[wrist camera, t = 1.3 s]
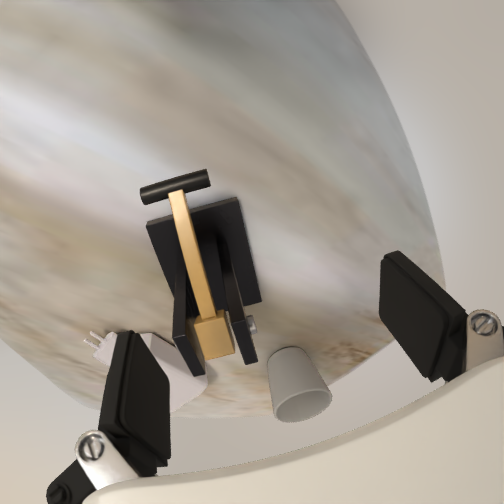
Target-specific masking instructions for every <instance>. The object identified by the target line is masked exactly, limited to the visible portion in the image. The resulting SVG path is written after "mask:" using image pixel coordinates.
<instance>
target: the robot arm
mask: <svg viewBox="0 0 504 504" xmlns="http://www.w3.org/2000/svg"><path fill="white" fill-rule="evenodd" d="M379 316H380V318H381V320H382V322H383V323H384V324H385V326H386V327H387V328H388V330H389V331H390V332H391V333H392V335H393V336H394V337H395V339H396V340H397V341H398V343H399V344H400V346H401V347H402V348H403V350H404V351H405V352H406V354H407V355H408V356H409V357H410V359H411V361H412V362H413V363H414V365H415V366H416V367H417V369H418V370H419V372H420V373H421V374H422V376H423V377H425V378H426V377H428V378H429V380H430V381H431V382H433V381H435V380H437V379H439V378H440V377H443V379H444V380H445V385H443V386H441V387H440V388H438V389H436V390H434V391H433V392H431V393H429V394H427V395H425V396H423V397H422V398H420V399H418V400H416V401H414V402H413V403H411V404H409V405H407V406H405V407H403V408H401V409H399V410H397V411H395V412H393V413H391V414H389V415H386V416H384V417H382V418H380V419H378V420H375V421H373V422H371V423H369V424H366V425H364V426H362V427H359V428H357V429H354V430H352V431H349V432H347V433H344V434H342V435H339V436H337V437H334V438H331V439H328V440H325V441H323V442H320V443H317V444H314V445H311V446H308V447H304V448H301V449H298V450H295V451H291V452H288V453H284V454H281V455H277V456H273V457H270V458H265V459H262V460H257V461H253V462H248V463H244V464H239V465H234V466H229V467H223V468H217V469H211V470H205V471H198V472H191V473H183V474H175V475H164V476H158V475H157V474H156V473H157V467H167V466H168V463H167V459H170V458H171V442H170V382H169V379H168V376H167V375H166V373H165V372H164V371H163V369H162V368H161V366H160V365H159V363H158V362H157V360H156V359H155V357H154V356H153V354H152V353H151V351H150V350H149V348H148V347H147V345H146V343H145V342H144V340H143V339H142V337H141V335H140V334H139V333H135V332H134V331H133V330H130V331H126V332H122V333H119V334H118V335H117V338H116V342H115V346H114V351H113V355H112V360H111V364H110V369H109V372H108V375H107V379H106V385H105V390H104V395H103V401H102V406H101V413H100V419H99V425H98V430H91V431H87V432H85V433H84V434H82V435H81V436H80V437H79V439H78V441H77V442H76V446H75V455H76V457H77V459H76V460H75V461H74V462H73V463H72V464H71V465H70V466H69V467H68V468H67V469H66V470H65V471H64V472H62V473H61V474H60V475H59V476H58V477H57V478H56V479H55V480H54V481H53V482H52V483H51V484H50V485H49V487H48V489H47V494H46V497H47V502H48V504H504V326H502V325H501V322H500V319H499V318H498V317H497V316H496V315H495V314H494V313H493V312H490V311H488V310H484V309H482V310H475V311H473V312H472V313H470V314H469V315H468V314H467V313H466V312H465V309H463V308H462V307H461V306H460V305H459V304H458V303H457V302H456V301H455V300H454V299H453V298H452V297H451V296H450V295H449V294H448V293H447V292H446V291H445V290H443V289H442V288H441V287H440V286H439V285H438V284H437V283H436V282H435V281H434V280H433V279H431V278H430V277H429V276H428V275H427V274H426V273H425V272H424V271H422V270H421V269H420V268H419V267H418V266H417V265H416V264H414V263H413V262H412V261H411V260H410V259H409V258H407V257H406V256H405V255H404V254H403V253H401V252H400V251H398V250H397V251H394V252H391V253H388V254H386V255H384V259H383V260H381V270H380V299H379Z"/></svg>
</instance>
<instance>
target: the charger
mask: <svg viewBox="0 0 504 504" xmlns="http://www.w3.org/2000/svg"><path fill="white" fill-rule="evenodd" d="M90 335H92V336H93V337H95V338H97V339H98V340H100V341H101V343H100V344H99V346H97V345H95V344H94V343H92V342H91V341H89V340H88V339H85V340H84V342H86V343H87V344H89V345H90V346H92V347H93V348H95V349H96V350H95V352H94V354H93V358H95V359H97V360H98V361H100V362H102V363H103V364H105V365H107V366H108V367H110V364H111V360H112V355H113V351H114V346H115V342H116V338H117V334H116V333H114V332H111V333H109V334H108V335H107V336H106V337H105V338H102V337H100V336H99V335H97V334H96V333H94V332H93V331H91V332H90ZM140 335H141V337H142V339H143V340H144V342H145V343H146V345H147V347H148V348H149V350H150V351H151V353H152V354H153V356H154V357H155V359H156V360H157V362H158V363H159V365H160V366H161V368H162V369H163V371H164V372H165V373H166V375H167V376H168V379H169V382H170V413H172V412H174V411H175V410H177V409H179V408H180V407H182V406H183V405H185V404H186V403H188V402H189V401H191V400H192V399H194V398H195V397H197V396H198V395H200V394H201V393H202V392H203V391H204V390H205V389H206V388H207V385H208V379H207V368H206V364H205V370H206V374H205V375H201V376H197V377H193V375H192V373H191V371H190V370H189V368H188V366H187V364H186V363H185V361H184V359H183V357H182V355H181V353H180V352H178V351H177V349H176V348H175V347H174V346H172V345H170V344H169V343H167V342H165V341H164V340H162V339H160V338H159V337H157V336H156V335H154V334H152V333H144V334H140Z"/></svg>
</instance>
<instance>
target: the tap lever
mask: <svg viewBox="0 0 504 504" xmlns="http://www.w3.org/2000/svg"><path fill="white" fill-rule="evenodd" d="M210 186H211V184H210V180H209V176H208V172H207V169H203V170H199V171H196V172H192V173H189V174H185V175H181V176H178V177H175V178H171V179H168V180H164V181H161V182H158V183H155V184H151V185H148V186H145V187H142V188H140V196H141V200H142V202H143V204H144V205H148V204H151V203H154V202H158V201H161V200H164V199H168V198H169V201H170V205H171V209H172V213H173V217H174V221H175V225H176V229H177V233H178V237H179V241H180V245H181V249H182V252H183V256H184V260H185V263H186V267H187V271H188V274H189V278H190V281H191V285H192V288H193V292H194V295H195V298H196V302H197V305H198V308H199V312H200V315H199V316H197V318H196V321H195V323H194V328H195V331H196V334H197V337H198V340H199V343H200V346H201V349H202V352H203V355H204V358H205V360H209V359H214V358H218V357H222V356H226V355H230V354H234V353H235V344H234V339H233V336H232V332H231V329H230V326H229V322H228V319H227V315H226V312H225V309H223V310H219V311H216V307H215V304H214V300H213V297H212V293H211V290H210V286H209V283H208V279H207V276H206V272H205V269H204V265H203V261H202V258H201V254H200V250H199V246H198V243H197V239H196V235H195V231H194V227H193V223H192V219H191V216H190V212H189V208H188V203H187V199H186V195H185V193H188V192H192V191H196V190H199V189H203V188H207V187H210Z"/></svg>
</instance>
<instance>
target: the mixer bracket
mask: <svg viewBox="0 0 504 504" xmlns="http://www.w3.org/2000/svg"><path fill="white" fill-rule="evenodd" d="M189 212H190V216H191V219H192V223H193V227H194V231H195V235H196V239H197V243H198V246H199V250H200V254H201V258H202V261H203V265H204V269H205V272H206V276H207V279H208V283H209V286H210V290H211V293H212V297H213V300H214V304H215V307H216V311H219V310H223V309H225V311H229V316H230V322H231V326H232V328H233V331H234V334H235V337H236V340H237V343H238V346H239V349H240V352H241V354H242V357H243V360H244V363H245V365H248V364H252V363H256V362H258V358H257V354H256V351H255V347H254V343H253V339H252V336H251V335H252V334H256V333H257V329H256V326H255V322H254V319H253V315H250V316H246V313H245V309H244V306H248V305H251V304H255V303H259V302H262V300H261V295H260V291H259V287H258V283H257V278H256V274H255V270H254V266H253V261H252V257H251V253H250V248H249V244H248V240H247V236H246V231H245V227H244V223H243V219H242V214H241V210H240V206H239V201H238V199H237V197H234V198H230V199H226V200H223V201H219V202H215V203H211V204H208V205H204V206H200V207H197V208H193V209H189ZM146 228H147V231H148V234H149V237H150V239H151V242H152V245H153V247H154V250H155V252H156V255H157V257H158V260H159V262H160V265H161V267H162V270H163V272H164V275H165V277H166V280H167V282H168V285H169V287H170V289H171V292H172V294H173V296H174V312H173V332H172V338H173V340H174V343H175V346H176V349H177V351H178V352H180V353H181V355H182V357H183V359H184V361H185V363H186V364H187V366H188V368H189V370H190V371H191V373H192V375H193V377H197V376H201V375H205V374H206V370H205V358H204V355H203V352H202V349H201V346H200V343H199V340H198V337H197V334H196V331H195V328H194V323H195V321H196V318H197V316H199V315H200V312H199V308H198V305H197V302H196V298H195V295H194V292H193V288H192V285H191V281H190V278H189V274H188V271H187V267H186V263H185V260H184V256H183V252H182V249H181V245H180V241H179V237H178V233H177V229H176V225H175V221H174V217H173V214H172V215H168V216H165V217H162V218H158V219H155V220H152V221H148V222H147V224H146Z"/></svg>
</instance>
